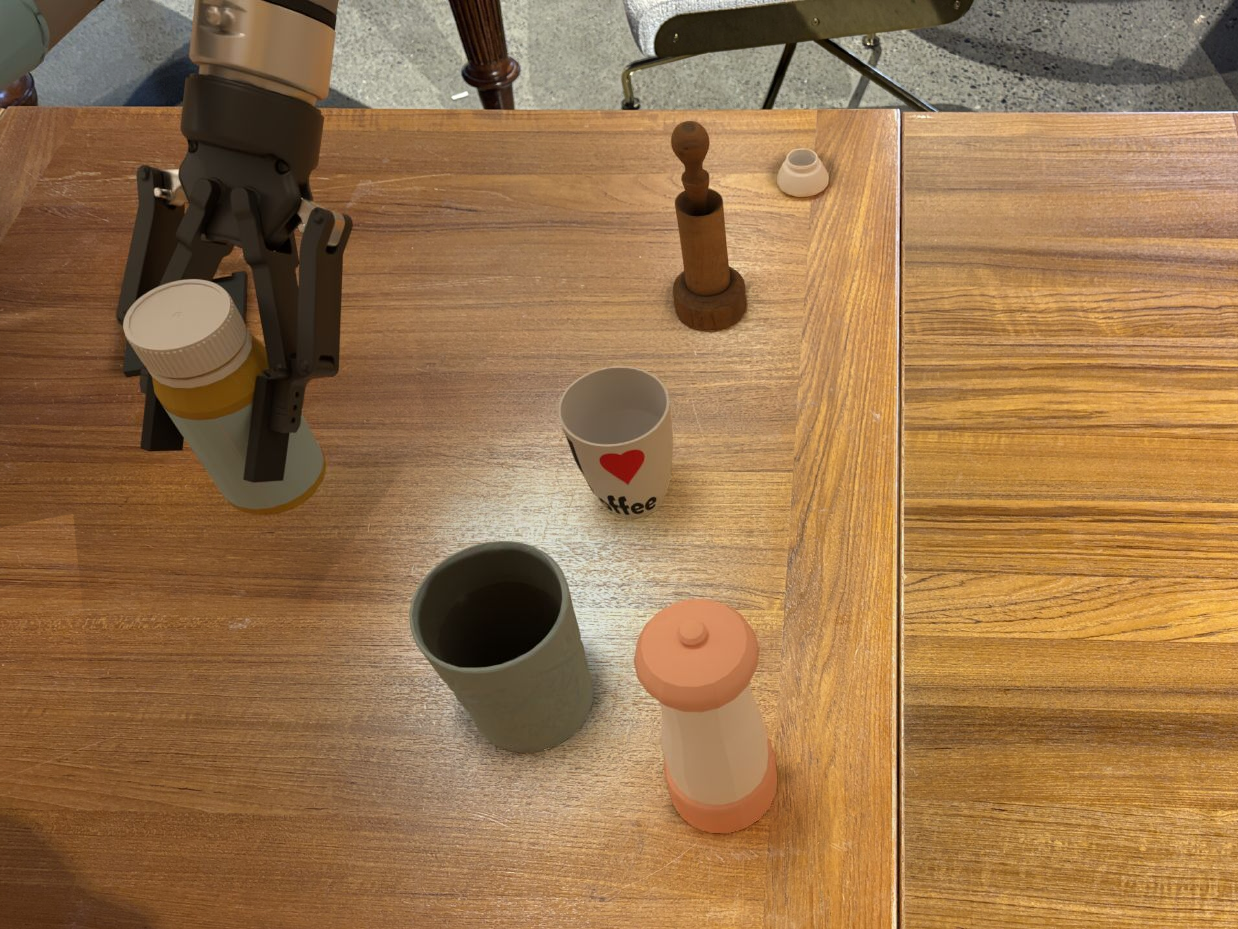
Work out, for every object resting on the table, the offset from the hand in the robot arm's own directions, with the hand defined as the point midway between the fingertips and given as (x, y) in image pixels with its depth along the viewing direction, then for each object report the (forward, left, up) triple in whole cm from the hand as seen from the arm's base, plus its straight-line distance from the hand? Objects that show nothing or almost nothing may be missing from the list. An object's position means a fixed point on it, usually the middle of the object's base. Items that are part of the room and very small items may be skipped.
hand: (212, 464), depth 76 cm
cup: (+25, +5, -17) cm, 31 cm away
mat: (-11, +35, -16) cm, 40 cm away
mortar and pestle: (+35, +25, -17) cm, 46 cm away
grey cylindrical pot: (+15, -12, -17) cm, 26 cm away
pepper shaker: (+27, -22, -17) cm, 39 cm away
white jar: (+47, +40, -17) cm, 64 cm away
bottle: (+2, +3, -6) cm, 7 cm away
